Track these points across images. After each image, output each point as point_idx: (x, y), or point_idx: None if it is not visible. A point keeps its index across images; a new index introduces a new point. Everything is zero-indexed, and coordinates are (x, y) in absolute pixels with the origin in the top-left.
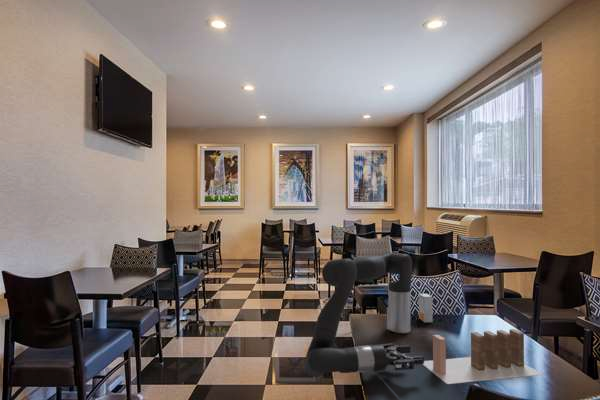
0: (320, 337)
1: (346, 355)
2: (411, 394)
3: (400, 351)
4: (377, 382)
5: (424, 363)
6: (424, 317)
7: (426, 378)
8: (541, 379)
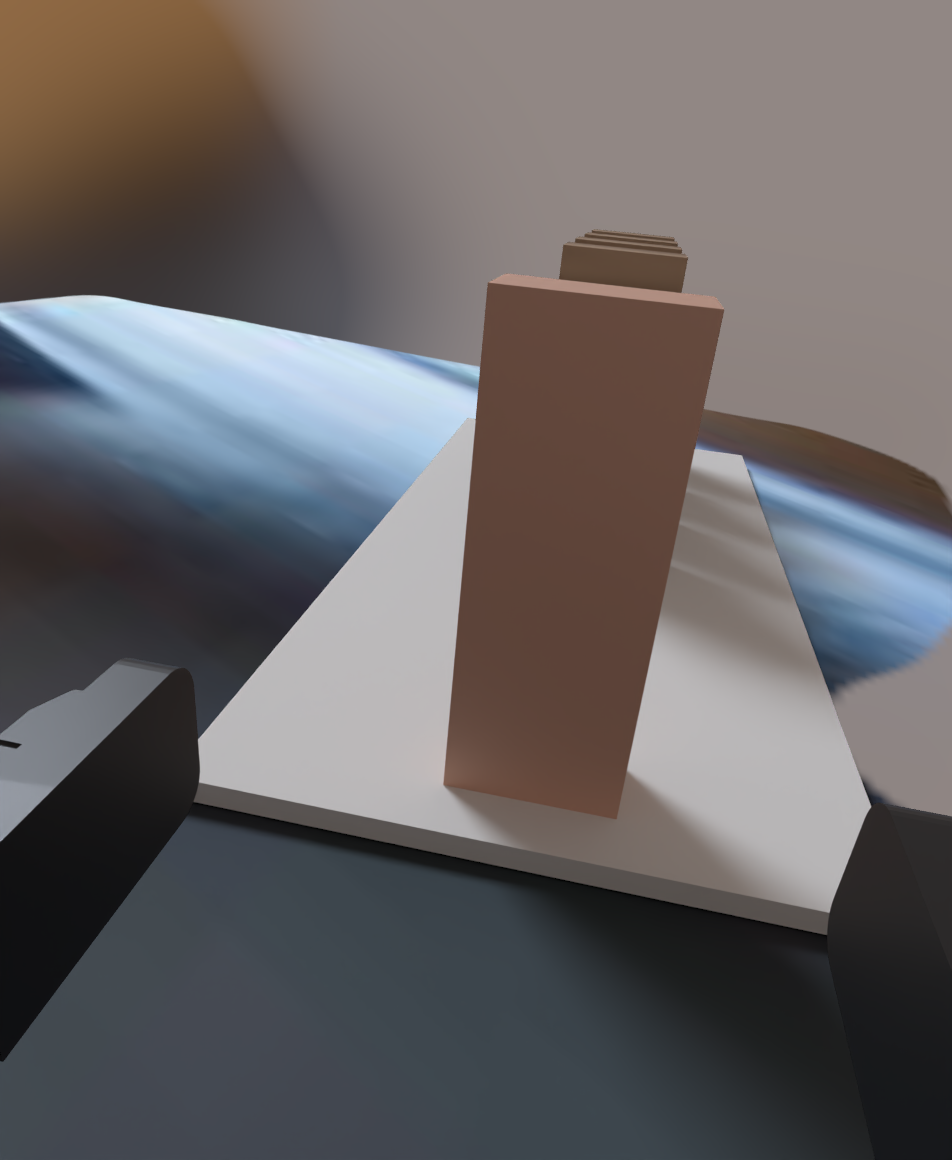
0: None
1: None
2: None
3: (4, 998)
4: None
5: (260, 767)
6: None
7: (623, 1048)
8: (776, 484)
